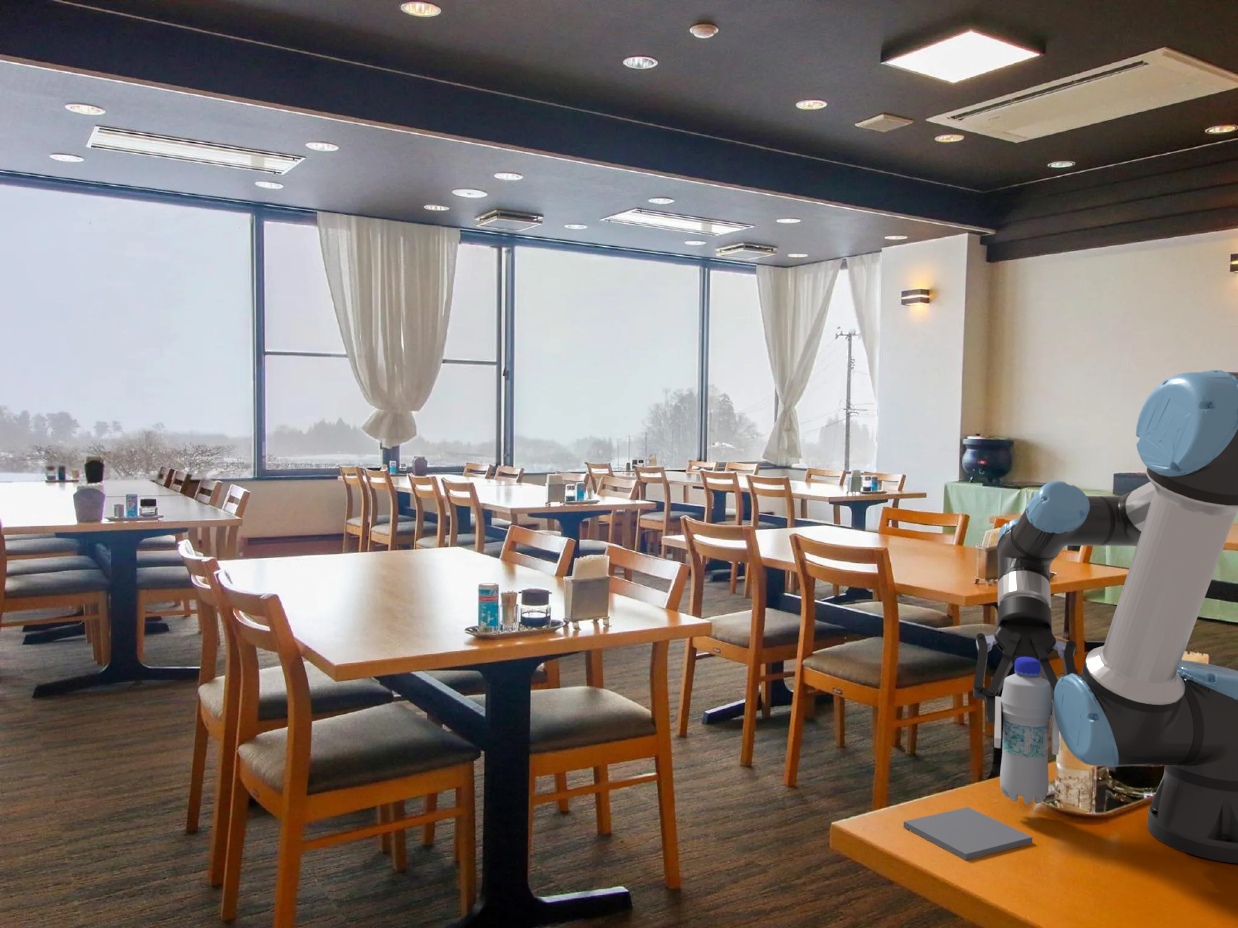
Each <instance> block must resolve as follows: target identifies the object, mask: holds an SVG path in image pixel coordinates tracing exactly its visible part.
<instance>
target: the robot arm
mask: <svg viewBox="0 0 1238 928" xmlns="http://www.w3.org/2000/svg"><path fill="white" fill-rule="evenodd" d="M1135 437H1137V438H1139V440H1138V441H1137V442H1136V450H1137V452H1138V456H1139V458H1140V460H1141V462H1142V463H1143V464H1144V465H1145V467H1146V471H1145V472H1146V473H1145V474H1146V476H1147V478H1148V480H1149V482H1146V483H1145V484H1143V485H1141V486H1139V487H1138V488H1136V489H1133V490H1131V491H1129V492H1127V493H1126V494H1123V495H1118V496H1113V495H1110V496H1108V495H1102V496H1101V495H1086V493H1084V491H1083V490H1081V489H1080V488H1079V487H1078V486H1076V485H1075V484H1068V483H1067V482H1066V481H1063V480H1062V481H1061V480H1056V481H1050V482H1047V483H1045V484H1043V485H1042V486H1041V487H1040V488H1039V489H1038V491H1037V492H1035V494H1034V495H1033V496H1032V498H1030V500H1029V501H1028V503H1027V505H1026V507H1025V510H1024V511H1023V513H1022V515H1021V516H1020V517H1019V518H1013V519H1011V520H1010V521H1009V522H1006V523H1004V524H1003V525H1002V526H1001V527H1000V529H999V531H998V539H997V543H996V551H997V606H998V607H997V630H996V631H995V632H994V634H993V635H991V634H990V635H985V634H984V633H982V632H980V633H977V634H976V637H975V638H976V640H975V646H976V650H977V660H976V665H975V666H976V667H975V672H974V673H975V674H974V681H973V685H972V686H973V688H972V689H973V690H972V691H973V693H972V696H973V698H974V699H976V700H982V701H984V703H985V705H986V706H985V713H986V714H985V720H986V722H987V723H988V724H989V723H991V724H994V743H993V744H994V748H996V749H1001V745H1002V743H1001V742H1002V710H1001V707H1002V703H1001V696H999V695H1000V693H1001V690H1002V689H1003V685H1004V679H1005V678H1006V677H1008V676H1009V675H1008V674H1009V673H1010V671H1011V670H1012V668H1013V666H1014V664H1015V661H1016V659H1017V658H1020V657H1031V658H1035V659H1037V660H1038V661H1039V662H1040V665H1041V672H1040V675H1041V676H1040V677H1042V678H1043V679H1045V680H1047V681H1048V682H1049V683H1050V689H1051V698H1052V705H1053V706H1052V709H1051V713H1052V715H1051V717H1050V731H1051V732H1050V733H1051V734H1050V735H1051V736H1050V737H1051V755H1055V756H1059V752H1060V746H1061V745H1060V744H1061V743H1060V736H1061V738H1062V741H1063V743H1064V745H1065V746H1066V748H1067V749H1068V751H1069V752H1070V753H1071V754H1072V756H1074V758H1076V759H1077V760H1079V762H1081V763H1083V764H1085V765H1089V766H1094V767H1097V766H1099V767H1108V768H1110V769H1111V768H1118V767H1141V766H1142V767H1145V766H1147V767H1148V766H1164V771H1163V776H1162V779H1161V780H1160V783H1159V785H1158V787H1157V789H1156V791H1155V794H1154V796H1153V799H1152V801H1151V803H1150V806H1149V807H1148V810H1147V811H1148V812H1147V830H1148V832H1149V833H1150V834H1151V835H1152V836H1153V837H1154V838H1155V839H1157V840H1159V841H1160V842H1162V843H1163V844H1165V845H1167V846H1169V847H1171V848H1174V849H1176V850H1178V851H1181V852H1184V853H1186V854H1190V855H1191V856H1192V855H1193V856H1196V857H1200V858H1203V859H1207V860H1212V861H1218V862H1221V863H1222V862H1223V863H1231V864H1238V670H1235V669H1233V668H1228V667H1225V666H1219V665H1214V664H1210V663H1205V662H1199V661H1192V660H1184V659H1183V656H1184V654H1185V651H1186V649H1187V646H1188V643H1189V641H1190V638H1191V635H1192V633H1193V631H1194V627H1195V625H1196V622H1197V619H1198V616H1199V613H1200V611H1201V609H1202V607H1203V603H1204V600H1205V597H1206V596H1207V592H1208V589H1209V587H1210V584H1211V582H1212V578H1213V576H1214V573H1215V571H1216V569H1217V565H1218V563H1219V560H1220V558H1221V555H1222V553H1223V550H1224V547H1225V544H1226V542H1227V540H1228V539H1227V538H1228V536H1229V534H1230V531H1231V529H1232V526H1233V523H1234V520H1235V517H1236V514H1237V512H1238V372H1237V371H1235V372H1234V371H1223V370H1220V369H1219V370H1218V369H1216V370H1215V369H1213V370H1211V369H1210V370H1205V371H1199V372H1198V371H1197V372H1191V371H1190V372H1182V373H1179V374H1176V375H1173V376H1171V377H1170V378H1169V379H1165V380H1164V381H1163V382H1161V383H1160V384H1159V385H1158V386H1157V387H1155V388H1154V390H1153V391H1152V392H1151V393H1150V395H1149V396H1148V397H1147V398H1146V400H1145V402H1144V404H1143V406H1142V408H1141V410H1140V413H1139V416H1138V418H1137V423H1136V429H1135ZM1066 546H1067V547H1068V546H1070V547H1071V546H1078V547H1079V546H1080V547H1081V546H1082V547H1083V546H1084V547H1087V546H1091V547H1092V546H1093V547H1095V546H1097V547H1098V546H1100V547H1103V546H1106V547H1107V546H1108V547H1109V546H1110V547H1114V546H1115V547H1136V548H1135V550H1134V552H1133V557H1132V559H1131V562H1130V564H1129V565H1130V566H1129V568H1128V572H1127V574H1126V577H1125V581H1124V584H1123V587H1122V590H1121V593H1120V596H1119V599H1118V603H1117V606H1116V607H1115V608H1116V609H1115V611H1114V614H1113V617H1112V620H1111V623H1110V627H1109V629H1108V632H1107V636H1106V638H1105V641H1104V645H1102V646H1099V647H1096V648H1093V649H1092V650H1090V651H1089V652H1088V654H1087V656H1086V658H1085V661H1084V664H1083V667H1082V670H1081V672H1080V674H1077V670H1076V663H1075V658H1074V657H1075V652H1076V645H1077V644H1076V642H1075V641H1074V640H1067V641H1066V642H1065V641H1064V642H1063V641H1060V640H1057V638H1056V636H1055V635H1054V634H1053V624H1052V623H1053V622H1052V609H1051V608H1052V598H1051V596H1052V595H1051V593H1052V591H1051V573H1050V570H1051V569H1050V568H1051V565H1052V563H1053V561H1054V560H1055V559H1056V558H1057V557H1058V556H1059V555H1060V553H1061V552H1062V550H1064V548H1065V547H1066ZM994 645H996V647H997V648H998V649H999V650H1000V652H1001V653H1002V657H1001V659H1000V662H999V663H998V666H997V669H996V670H995V673H994V675H993V677H992V679H991V682H990V683H989V685H988V688H987V687H984V683H985V677H986V669H987V663H988V653H989V652H990V651H992V649H993V646H994ZM1054 650H1055V651H1057V654H1058V657H1060V659H1062V669H1063V674H1064V676H1062V677H1060V678H1059V679H1058V677H1057V676H1056V675H1057V674H1056V673H1055V671H1054V668H1053V667H1052V665H1051V663H1050V659H1049V655H1050V654H1051V653H1052V652H1053V651H1054Z"/></svg>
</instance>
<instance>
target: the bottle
mask: <svg viewBox="0 0 1238 928" xmlns="http://www.w3.org/2000/svg"><path fill="white" fill-rule="evenodd" d="M1040 672H1041V665H1040V662H1039V661H1038V660H1037V659H1035V658H1031V657H1020V658H1017V659H1016V661H1015V663H1014V673H1013V674H1011V675H1007V677H1006V678H1005V679H1004V684H1003V686H1002V693H1001V696H1000V697H1001V713H1002V714H1003V719H1002V721H1003V722H1002V723H1003V725H1002V728H1003V729H1002V747H1001V748H1002V751H1001V752H1002V753H1001V761H1000V762H1001V763H1000V773H999V784H1000V786H999V787H1000V789H1001V793H1002V794H1003V796H1004V797H1006V798H1009V799H1010V800H1011V801H1013V802H1018V799H1019V797H1022V798H1023V802H1024V805H1029V804H1031V803H1032V800H1033V801H1034V803H1035V804H1040V803H1043V801H1044V800H1045V798H1046V796H1047V794H1048V791H1049V785H1050V784H1049V783H1050V781H1049V760H1048V758H1049V757H1048V755H1049V733H1050V731H1049V729H1050V720H1051V715H1052V713H1051V709H1052V706H1053V705H1052V702H1053V701H1052V698H1051V689H1050V683H1049V682H1048V681H1047V680H1045V679H1043V678H1042V676H1040V675H1041V674H1040Z"/></svg>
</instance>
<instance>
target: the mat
mask: <svg viewBox="0 0 1238 928" xmlns="http://www.w3.org/2000/svg"><path fill="white" fill-rule="evenodd" d="M904 827H905V829H907V830H908V829H909V830H908V831H910V830H911V831H910V832H911V833H913V832H914V833H913V834H915V833H916V835H917V834H918V836H919V835H920V836H919V837H921V838H923V839H925V840H926V841H928V842H930V841H931V843H933V844H934V845H936V846H938V847H940V848H941V849H943V850H946V851H948V852H950V853H952V854H953V855H955V856H957V857H959V858H961V859H962V860H964V861H969V860H973V859H975V858H979V857H985V856H987V855H991V854H995V853H1000V852H1004V851H1006V850H1007V851H1008V850H1011V849H1014V848H1018V847H1022V846H1026V845H1030V844H1033V836H1031V835H1029V834H1027V833H1025V832H1022V831H1020V830H1018V829H1016V828H1014V827H1011V826H1009V825H1007V824H1005V823H1003V822H1001V821H999V820H997V819H995V818H993V817H991V816H988V815H986V814H984V813H982V812H980V811H977V810H976V809H973V808H971V807H968V806H965V807H962V808H957V809H953V810H948V811H944V812H939V813H935V814H930V815H927V816H922V817H918V818H914V819H909V820H905V821H903V828H904Z"/></svg>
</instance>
